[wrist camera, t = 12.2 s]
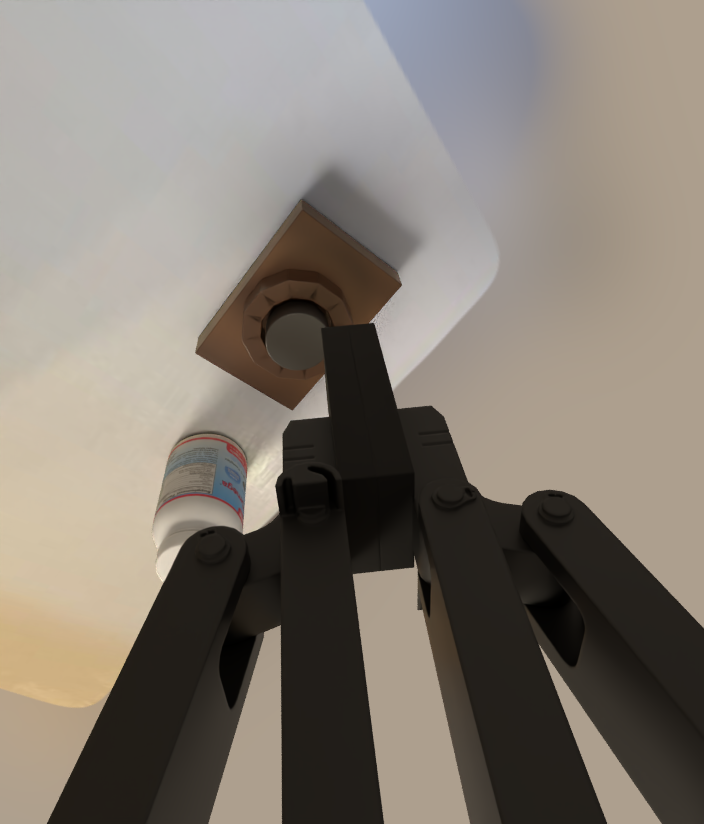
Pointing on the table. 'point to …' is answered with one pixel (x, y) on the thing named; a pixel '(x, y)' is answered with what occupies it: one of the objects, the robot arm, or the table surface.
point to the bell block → (295, 281)
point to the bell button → (295, 335)
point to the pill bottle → (198, 493)
